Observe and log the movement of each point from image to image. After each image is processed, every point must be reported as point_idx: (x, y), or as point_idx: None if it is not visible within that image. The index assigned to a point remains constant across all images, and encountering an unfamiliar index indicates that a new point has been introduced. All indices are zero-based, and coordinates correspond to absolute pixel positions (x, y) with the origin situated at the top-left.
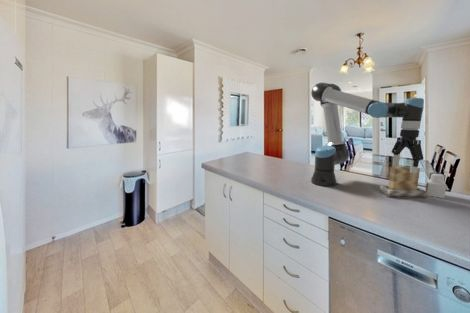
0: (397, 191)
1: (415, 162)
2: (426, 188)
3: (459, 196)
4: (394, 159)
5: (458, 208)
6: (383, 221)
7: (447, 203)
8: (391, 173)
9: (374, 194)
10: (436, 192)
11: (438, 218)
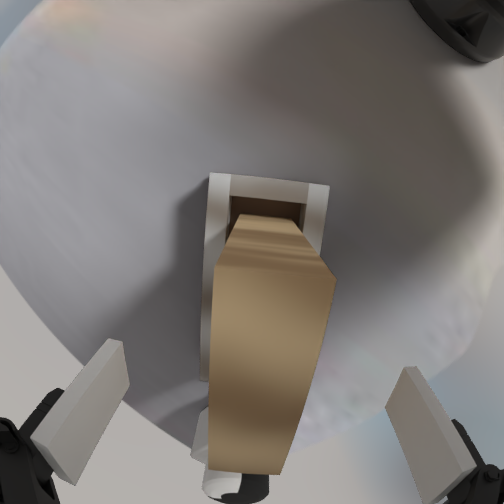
0: (206, 226)
1: (27, 420)
2: None
3: None
4: (437, 426)
5: None
6: (23, 37)
7: (143, 379)
8: (285, 249)
9: (269, 117)
10: None
11: (15, 218)
